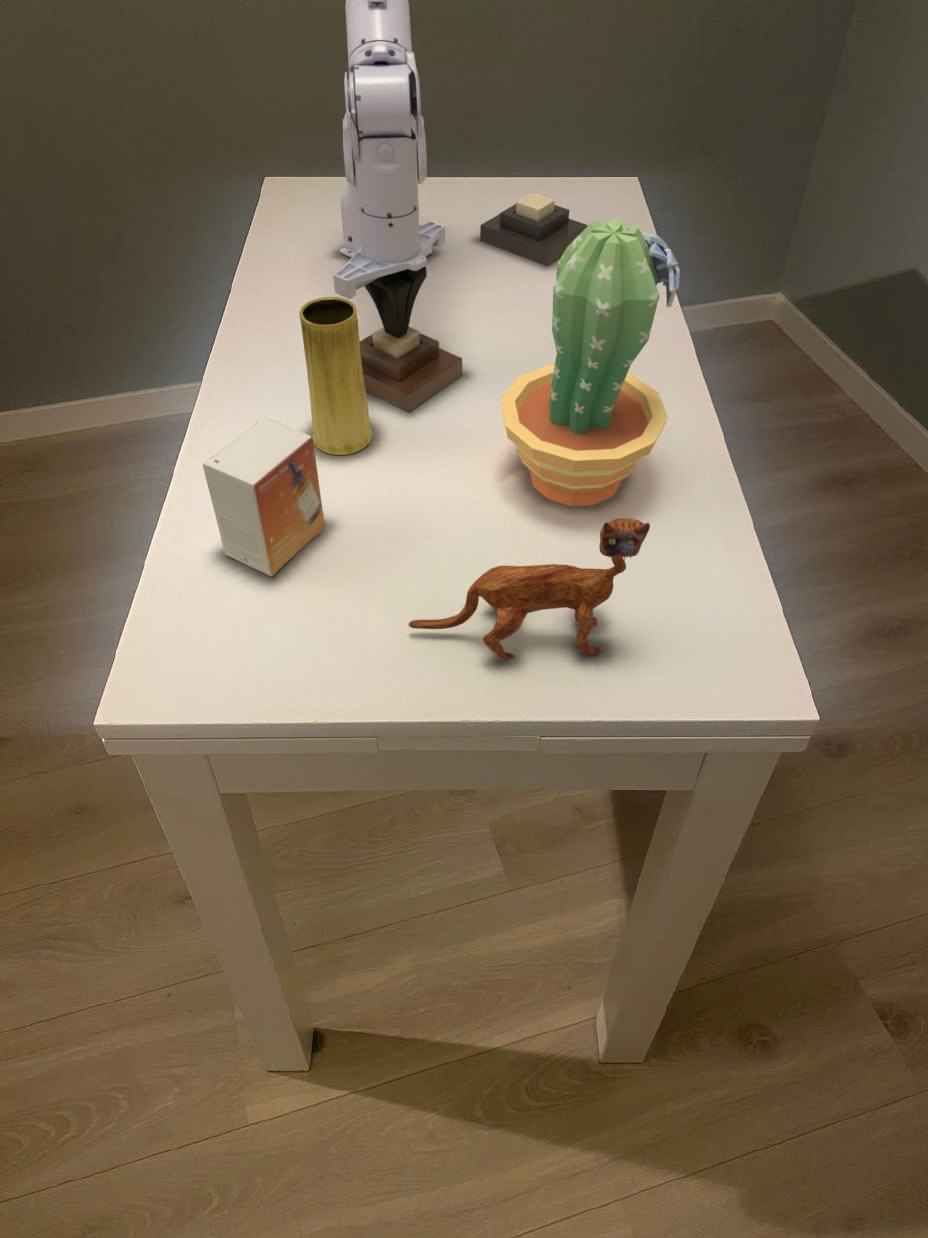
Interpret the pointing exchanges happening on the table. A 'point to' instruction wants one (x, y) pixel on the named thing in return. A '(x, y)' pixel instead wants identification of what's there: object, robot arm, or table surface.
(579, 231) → the block
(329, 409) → the vase
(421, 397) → the front block
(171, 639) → the table surface
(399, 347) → the front key
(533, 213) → the back key
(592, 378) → the potted cactus
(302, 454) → the small box
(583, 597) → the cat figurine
